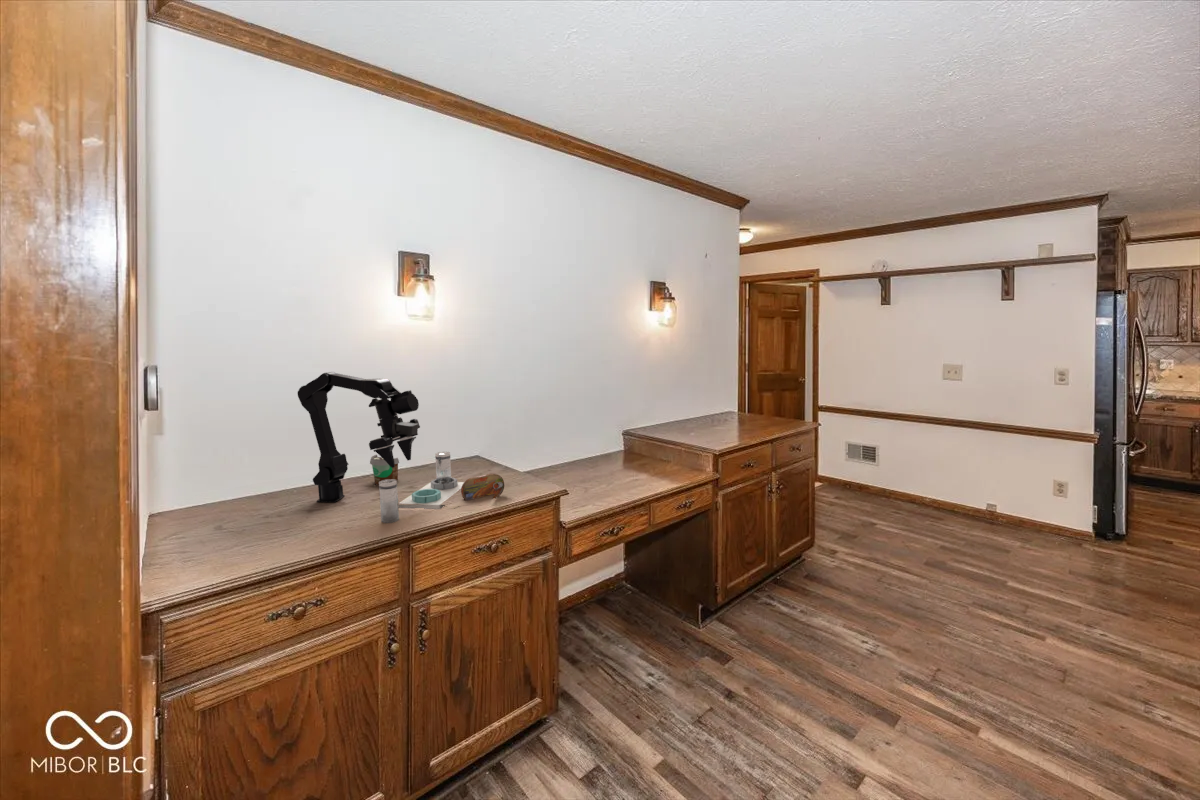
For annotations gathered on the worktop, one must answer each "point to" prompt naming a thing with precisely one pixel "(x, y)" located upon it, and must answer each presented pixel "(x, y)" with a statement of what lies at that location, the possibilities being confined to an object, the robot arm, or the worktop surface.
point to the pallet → (432, 504)
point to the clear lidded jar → (443, 467)
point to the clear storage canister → (388, 501)
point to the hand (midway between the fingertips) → (401, 463)
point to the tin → (482, 486)
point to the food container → (383, 469)
